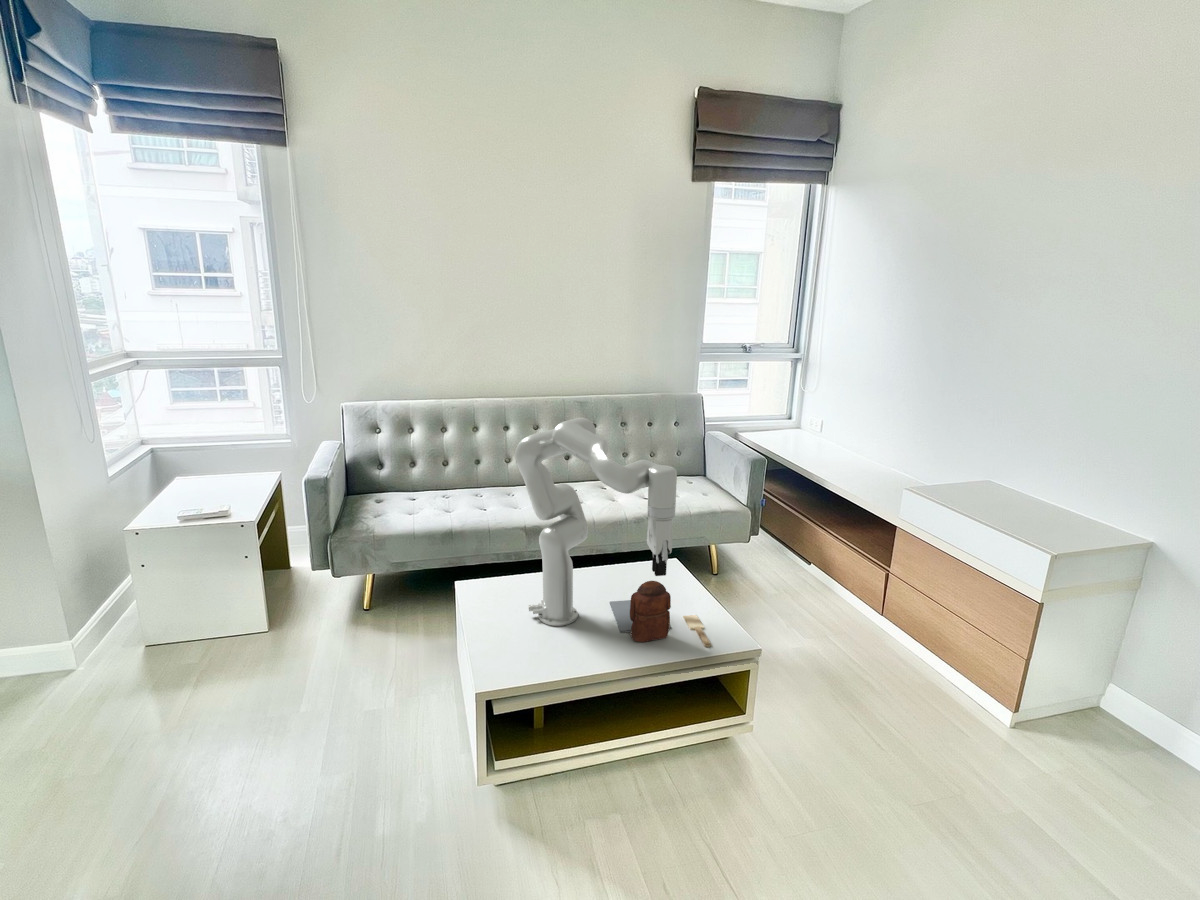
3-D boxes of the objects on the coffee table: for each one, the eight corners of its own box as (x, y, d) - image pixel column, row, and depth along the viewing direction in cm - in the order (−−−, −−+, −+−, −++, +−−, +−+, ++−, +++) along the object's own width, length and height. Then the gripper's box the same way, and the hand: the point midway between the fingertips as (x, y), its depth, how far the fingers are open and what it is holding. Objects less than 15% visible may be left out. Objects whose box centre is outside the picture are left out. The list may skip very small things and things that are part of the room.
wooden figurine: (661, 628, 192) (663, 574, 188) (670, 638, 186) (673, 583, 182) (626, 634, 188) (627, 580, 184) (634, 645, 182) (636, 589, 178)
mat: (620, 632, 189) (620, 630, 189) (609, 603, 207) (609, 601, 207) (671, 628, 192) (671, 627, 192) (655, 600, 210) (656, 598, 210)
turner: (715, 646, 182) (715, 643, 182) (700, 647, 182) (700, 644, 181) (696, 616, 200) (696, 613, 199) (683, 617, 199) (683, 614, 199)
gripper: (641, 502, 175) (639, 562, 180) (655, 521, 160) (652, 586, 164) (667, 501, 176) (664, 560, 181) (683, 520, 161) (680, 585, 166)
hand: (659, 572), depth 173 cm, fingers closed
